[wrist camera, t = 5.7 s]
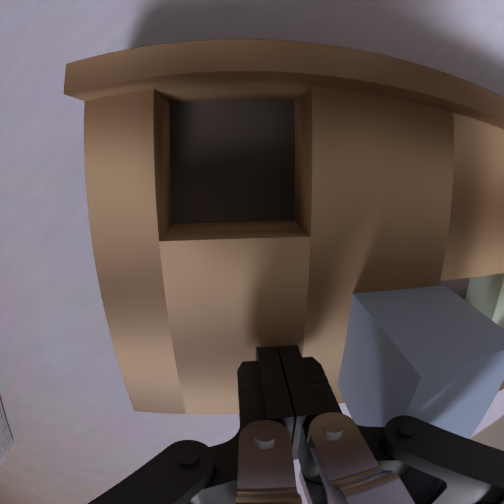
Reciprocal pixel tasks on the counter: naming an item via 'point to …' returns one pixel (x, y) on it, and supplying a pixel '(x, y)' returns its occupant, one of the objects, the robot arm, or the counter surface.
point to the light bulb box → (4, 435)
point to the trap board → (277, 202)
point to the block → (420, 359)
